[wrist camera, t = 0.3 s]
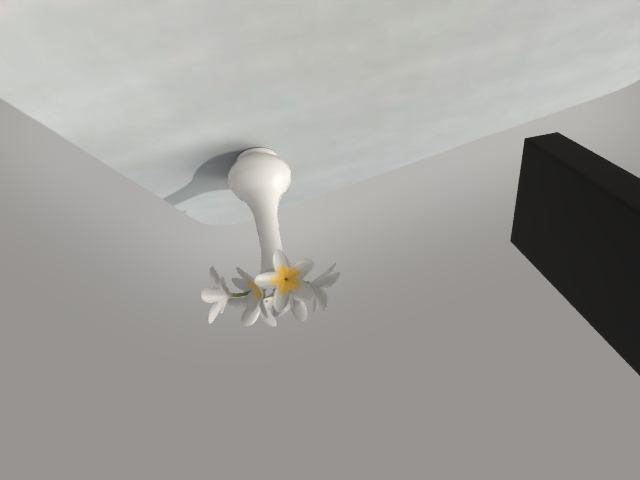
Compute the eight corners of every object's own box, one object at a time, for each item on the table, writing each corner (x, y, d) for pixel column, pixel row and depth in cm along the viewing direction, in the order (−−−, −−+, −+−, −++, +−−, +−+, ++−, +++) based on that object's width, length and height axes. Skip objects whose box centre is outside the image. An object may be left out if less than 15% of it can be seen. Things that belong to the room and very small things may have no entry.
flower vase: (176, 164, 65) (189, 334, 55) (290, 114, 60) (327, 292, 50) (225, 198, 76) (244, 344, 67) (324, 159, 71) (360, 311, 62)
